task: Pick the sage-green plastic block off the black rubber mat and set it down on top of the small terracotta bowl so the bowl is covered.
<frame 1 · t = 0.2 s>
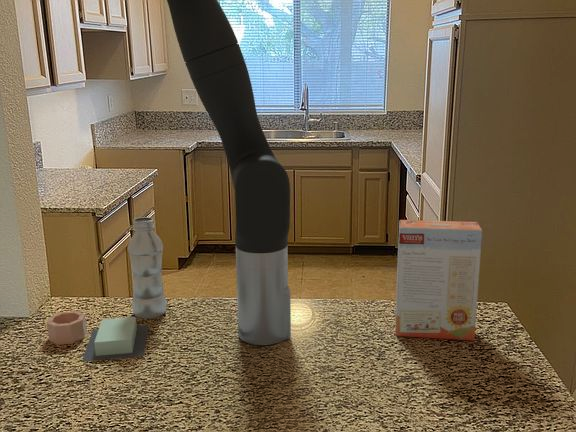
bowl: (68, 341, 102), on the countertop
cracker box: (432, 333, 105), on the countertop
mat: (117, 347, 100), on the countertop
block: (117, 341, 100), point 1 cm above the countertop, touching mat
plastic bottle: (150, 317, 112), on the countertop
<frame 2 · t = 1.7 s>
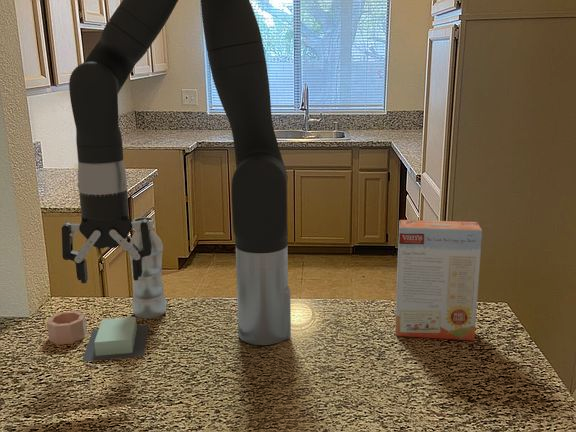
hand: (110, 280, 97), 13 cm above the countertop, tool pointing down, fingers open, 8 cm apart
nothing on the countertop moved.
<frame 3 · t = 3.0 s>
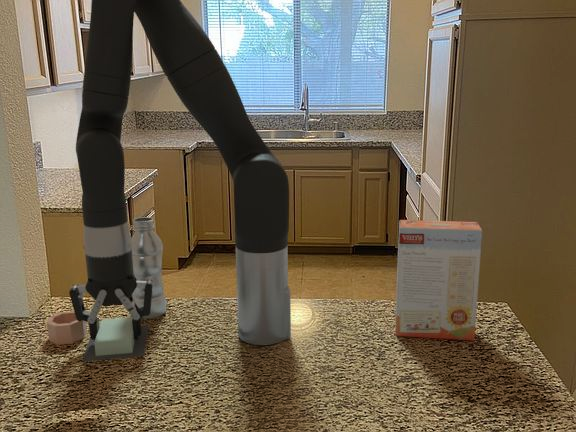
hand: (116, 338, 99), 2 cm above the countertop, tool pointing down, fingers closed on block, 6 cm apart
block: (117, 341, 100), point 1 cm above the countertop, touching gripper, mat
everything else where it was.
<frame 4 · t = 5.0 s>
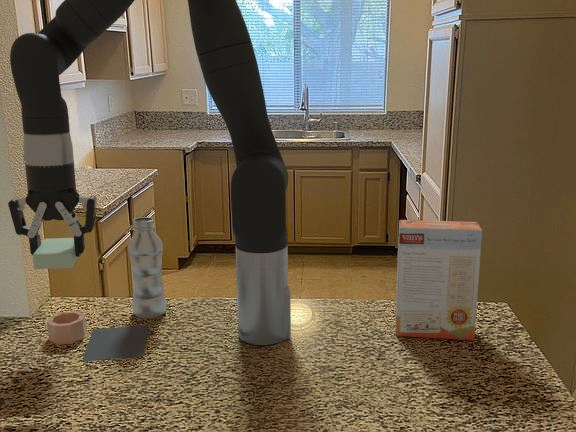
hand: (58, 255, 98), 16 cm above the countertop, tool pointing down, fingers closed on block, 6 cm apart
block: (59, 259, 98), point 16 cm above the countertop, touching gripper
everything else where it was.
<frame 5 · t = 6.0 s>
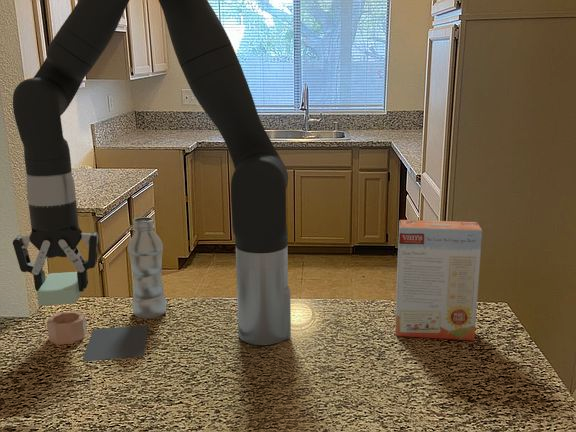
hand: (62, 291, 100), 10 cm above the countertop, tool pointing down, fingers closed on block, 6 cm apart
block: (63, 294, 100), point 9 cm above the countertop, touching gripper
everything else where it was.
when the fingers open (7 cm above the countertop, at t = 7.0 s): block drops 1 cm, resting on bowl.
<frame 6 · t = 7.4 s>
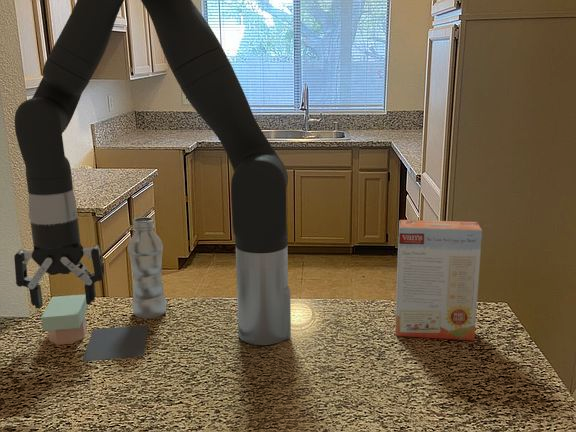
hand: (64, 304, 100), 7 cm above the countertop, tool pointing down, fingers open, 8 cm apart
block: (66, 318, 101), point 4 cm above the countertop, touching bowl
everything else where it was.
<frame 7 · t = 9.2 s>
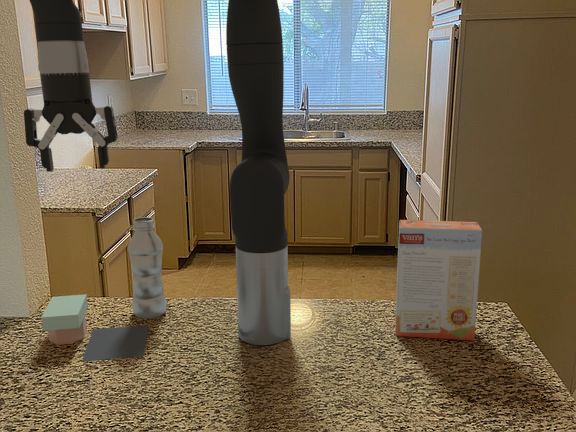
hand: (76, 169, 96), 31 cm above the countertop, tool pointing down, fingers open, 8 cm apart
nothing on the countertop moved.
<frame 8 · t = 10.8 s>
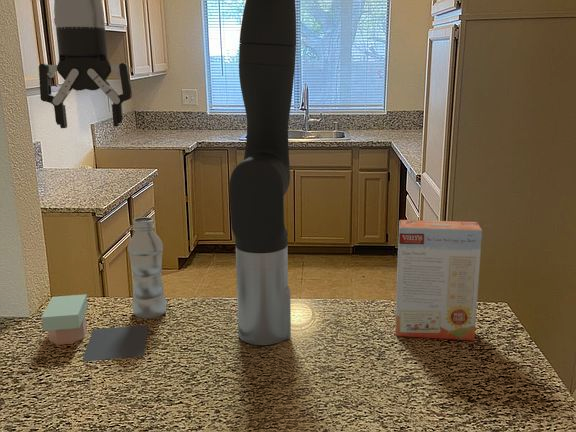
hand: (90, 127, 95), 38 cm above the countertop, tool pointing down, fingers open, 8 cm apart
nothing on the countertop moved.
at the end: block 0.1 cm off-centre on the bowl, point 4.5 cm above the bowl's base; block tilted 0°; the gripper is holding nothing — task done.
